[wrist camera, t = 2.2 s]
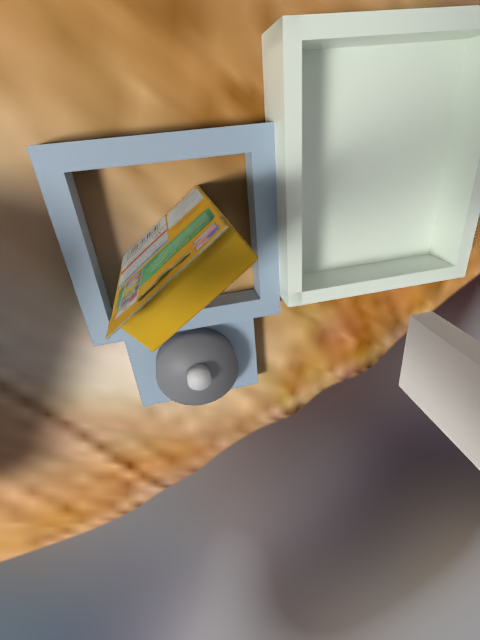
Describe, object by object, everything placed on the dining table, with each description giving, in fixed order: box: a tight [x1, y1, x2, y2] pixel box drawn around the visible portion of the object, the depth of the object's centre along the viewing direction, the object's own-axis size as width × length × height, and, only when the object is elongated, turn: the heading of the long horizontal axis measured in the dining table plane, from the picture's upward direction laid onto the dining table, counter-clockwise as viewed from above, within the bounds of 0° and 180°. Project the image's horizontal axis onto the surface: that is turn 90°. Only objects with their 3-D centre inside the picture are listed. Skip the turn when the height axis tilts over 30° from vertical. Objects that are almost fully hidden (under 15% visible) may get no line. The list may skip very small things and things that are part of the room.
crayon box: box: [105, 186, 258, 352], centre depth 20 cm, size 7×3×12 cm, turn 130°
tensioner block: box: [26, 122, 280, 406], centre depth 25 cm, size 20×14×4 cm
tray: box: [261, 5, 480, 307], centre depth 24 cm, size 16×14×4 cm
